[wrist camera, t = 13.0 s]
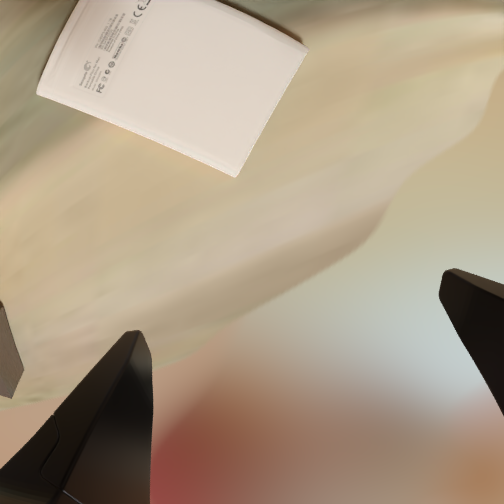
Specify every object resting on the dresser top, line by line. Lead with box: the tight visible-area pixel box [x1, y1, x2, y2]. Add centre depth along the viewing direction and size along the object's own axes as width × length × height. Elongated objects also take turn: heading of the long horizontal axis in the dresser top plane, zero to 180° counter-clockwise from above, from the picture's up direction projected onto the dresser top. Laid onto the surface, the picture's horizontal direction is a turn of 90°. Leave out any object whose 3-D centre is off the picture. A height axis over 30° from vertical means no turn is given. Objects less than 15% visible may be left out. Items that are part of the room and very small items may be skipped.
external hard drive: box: [36, 0, 309, 177], centre depth 14 cm, size 2×8×12 cm
